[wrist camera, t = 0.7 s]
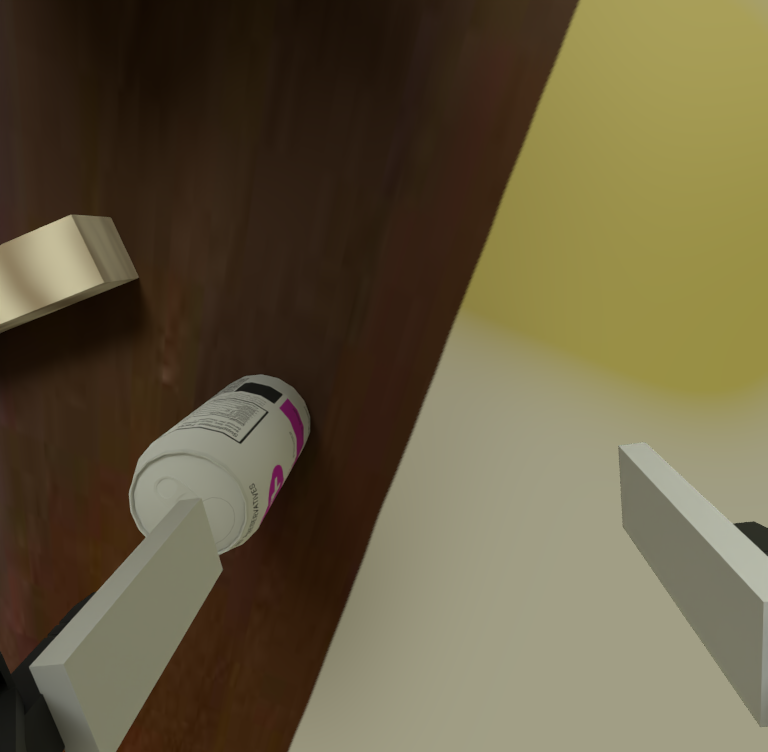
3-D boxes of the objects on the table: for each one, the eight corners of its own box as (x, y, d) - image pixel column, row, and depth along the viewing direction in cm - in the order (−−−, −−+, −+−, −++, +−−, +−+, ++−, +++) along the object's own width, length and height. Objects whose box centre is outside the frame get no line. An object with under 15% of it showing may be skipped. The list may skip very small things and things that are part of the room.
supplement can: (331, 416, 43) (286, 506, 29) (271, 479, 45) (200, 593, 31) (258, 352, 42) (173, 412, 28) (200, 419, 44) (92, 508, 30)
